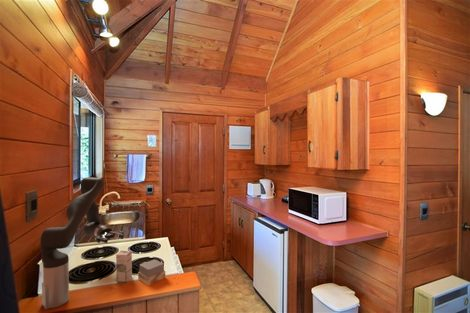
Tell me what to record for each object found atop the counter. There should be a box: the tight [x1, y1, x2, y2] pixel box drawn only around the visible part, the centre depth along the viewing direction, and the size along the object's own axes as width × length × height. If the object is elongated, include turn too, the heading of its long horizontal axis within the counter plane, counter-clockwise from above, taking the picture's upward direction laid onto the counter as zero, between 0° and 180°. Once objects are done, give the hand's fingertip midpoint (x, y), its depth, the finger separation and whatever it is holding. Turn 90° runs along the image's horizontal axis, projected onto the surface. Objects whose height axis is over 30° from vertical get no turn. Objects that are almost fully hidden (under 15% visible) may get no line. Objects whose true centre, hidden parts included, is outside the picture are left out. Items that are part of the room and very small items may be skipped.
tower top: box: [139, 259, 165, 278], centre depth 131 cm, size 9×9×4 cm
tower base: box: [137, 270, 166, 286], centre depth 131 cm, size 10×10×4 cm
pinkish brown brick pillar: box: [115, 250, 133, 283], centre depth 130 cm, size 6×6×14 cm
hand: (115, 239), depth 137 cm, fingers open, 8 cm apart
